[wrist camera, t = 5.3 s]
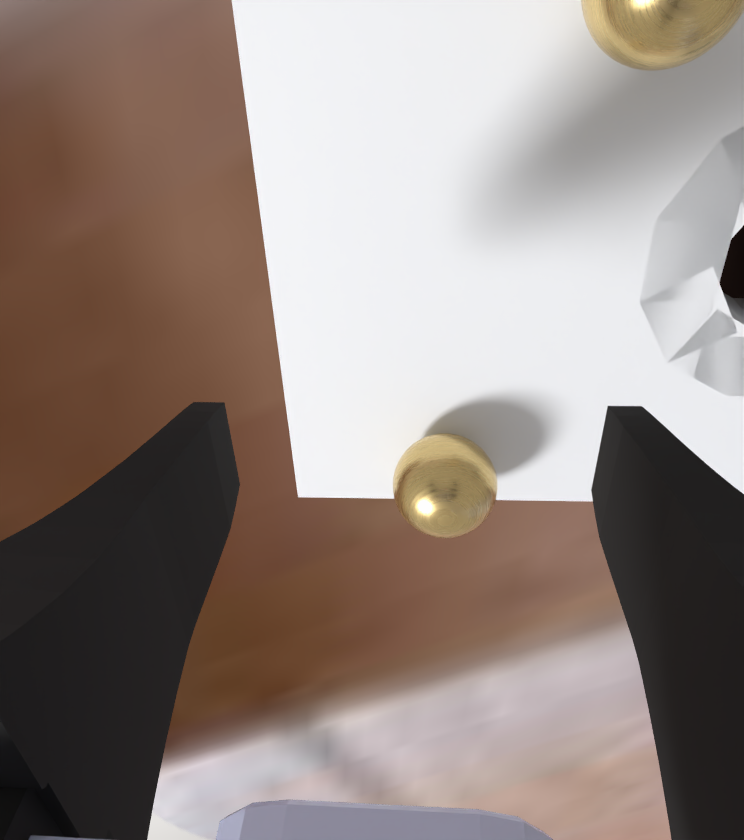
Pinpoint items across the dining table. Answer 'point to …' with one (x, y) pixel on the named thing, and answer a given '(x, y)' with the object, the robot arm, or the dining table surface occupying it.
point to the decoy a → (445, 485)
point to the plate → (492, 237)
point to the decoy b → (659, 29)
